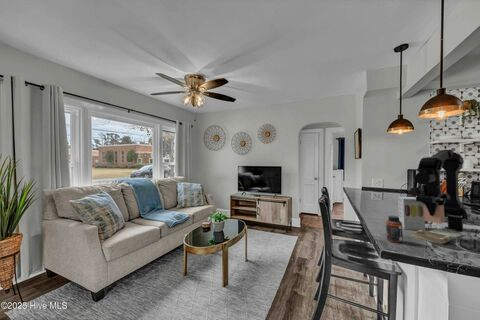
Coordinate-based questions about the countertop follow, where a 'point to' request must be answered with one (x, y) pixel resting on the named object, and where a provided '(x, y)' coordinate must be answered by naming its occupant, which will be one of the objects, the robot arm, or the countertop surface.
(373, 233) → the countertop surface
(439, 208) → the part block
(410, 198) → the supplement box
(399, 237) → the supplement bottle
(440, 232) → the pad
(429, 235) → the wooden frame
